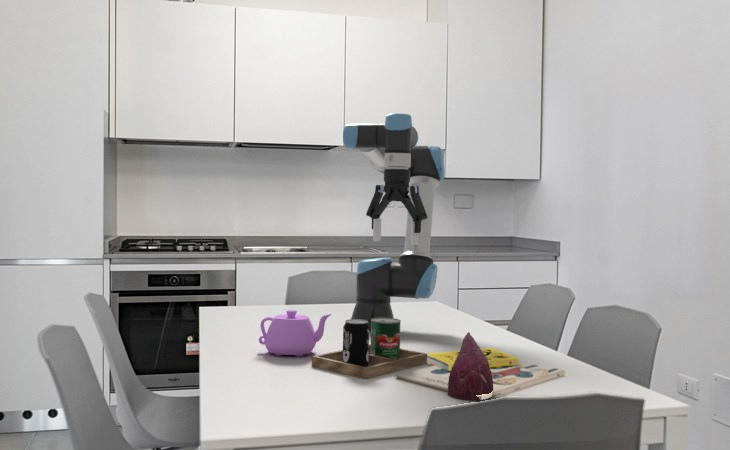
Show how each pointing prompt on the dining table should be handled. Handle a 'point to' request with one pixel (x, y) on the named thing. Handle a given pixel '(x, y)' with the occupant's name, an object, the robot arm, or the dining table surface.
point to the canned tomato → (385, 337)
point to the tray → (369, 363)
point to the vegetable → (470, 372)
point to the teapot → (291, 334)
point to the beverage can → (356, 342)
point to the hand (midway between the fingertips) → (395, 243)
